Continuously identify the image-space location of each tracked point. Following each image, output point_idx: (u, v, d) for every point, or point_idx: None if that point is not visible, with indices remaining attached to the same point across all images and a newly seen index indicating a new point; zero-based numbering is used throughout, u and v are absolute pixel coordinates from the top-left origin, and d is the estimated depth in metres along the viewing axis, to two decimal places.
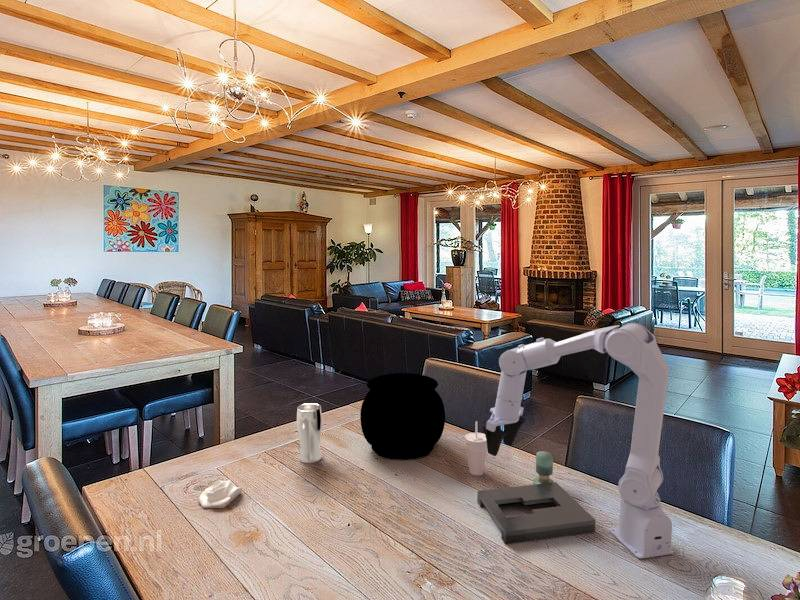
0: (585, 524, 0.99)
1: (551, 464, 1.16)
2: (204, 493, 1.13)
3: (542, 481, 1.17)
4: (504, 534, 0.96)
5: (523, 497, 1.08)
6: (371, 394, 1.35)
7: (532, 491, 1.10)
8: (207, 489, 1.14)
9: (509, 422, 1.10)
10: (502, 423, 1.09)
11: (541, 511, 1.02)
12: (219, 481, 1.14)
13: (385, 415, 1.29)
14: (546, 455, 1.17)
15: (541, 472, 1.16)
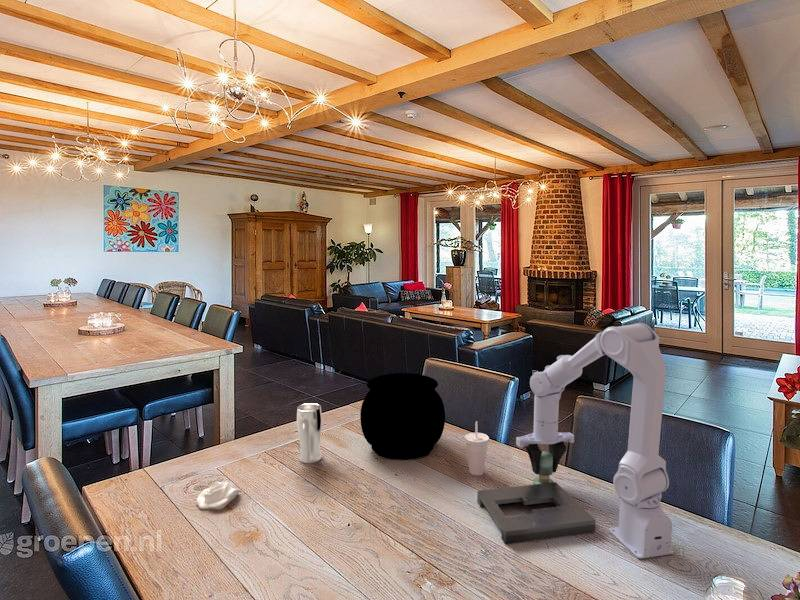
0: (585, 524, 0.99)
1: (551, 464, 1.16)
2: (202, 494, 1.12)
3: (542, 481, 1.17)
4: (504, 534, 0.96)
5: (523, 497, 1.08)
6: (371, 394, 1.35)
7: (532, 491, 1.10)
8: (205, 490, 1.13)
9: (540, 442, 1.14)
10: (531, 441, 1.15)
11: (541, 511, 1.02)
12: (217, 482, 1.13)
13: (385, 415, 1.29)
14: (546, 455, 1.17)
15: (541, 472, 1.16)
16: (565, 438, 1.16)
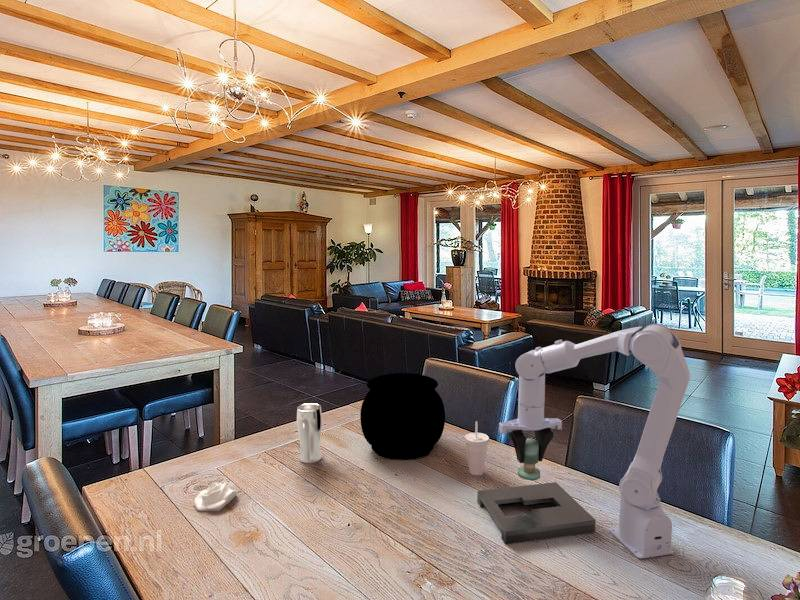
0: (585, 524, 0.99)
1: (536, 452, 1.08)
2: (199, 496, 1.12)
3: (527, 470, 1.09)
4: (504, 534, 0.96)
5: (523, 497, 1.08)
6: (371, 394, 1.35)
7: (532, 491, 1.10)
8: (202, 492, 1.13)
9: (524, 428, 1.06)
10: (514, 427, 1.06)
11: (541, 511, 1.02)
12: (214, 484, 1.12)
13: (385, 415, 1.29)
14: (531, 442, 1.09)
15: (525, 460, 1.08)
16: (552, 424, 1.08)
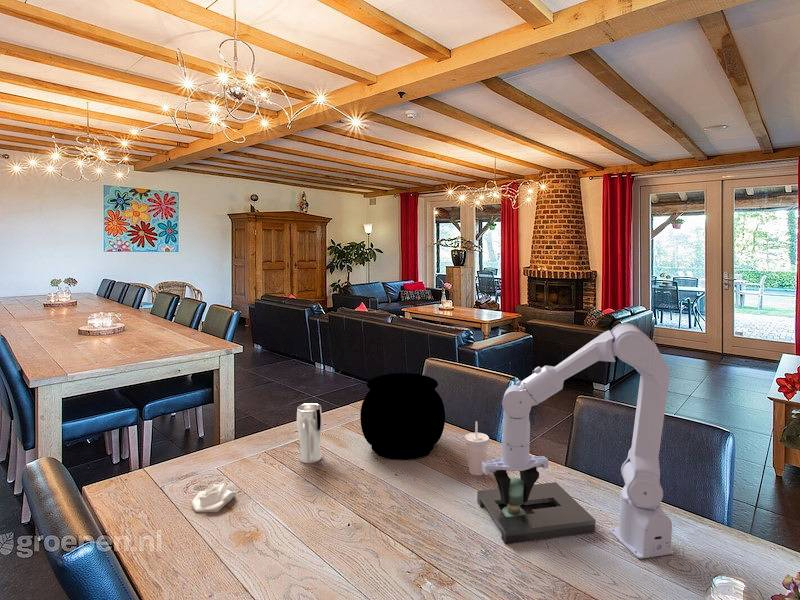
0: (585, 524, 0.99)
1: (521, 493, 1.02)
2: (197, 497, 1.11)
3: (511, 512, 1.03)
4: (504, 534, 0.96)
5: None
6: (371, 394, 1.35)
7: (532, 491, 1.10)
8: (200, 493, 1.12)
9: (508, 468, 1.00)
10: (498, 467, 1.00)
11: (541, 511, 1.02)
12: (212, 485, 1.12)
13: (385, 415, 1.29)
14: (515, 482, 1.03)
15: (510, 502, 1.02)
16: (538, 463, 1.02)
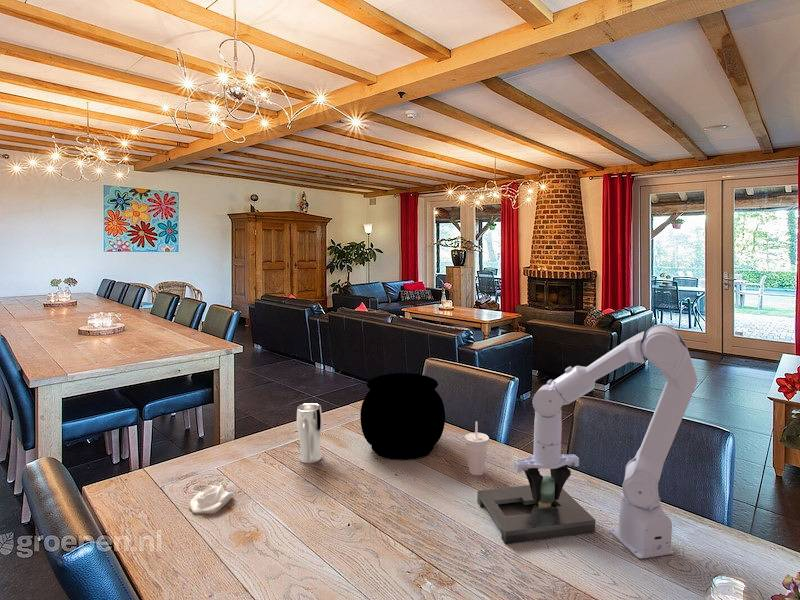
0: (585, 524, 0.99)
1: (553, 490, 1.03)
2: (195, 498, 1.11)
3: None
4: (504, 534, 0.96)
5: (523, 497, 1.08)
6: (371, 394, 1.35)
7: None
8: (198, 494, 1.12)
9: (541, 466, 1.01)
10: (530, 465, 1.02)
11: (541, 511, 1.02)
12: (210, 486, 1.11)
13: (385, 415, 1.29)
14: (547, 479, 1.05)
15: (541, 499, 1.04)
16: (569, 461, 1.03)
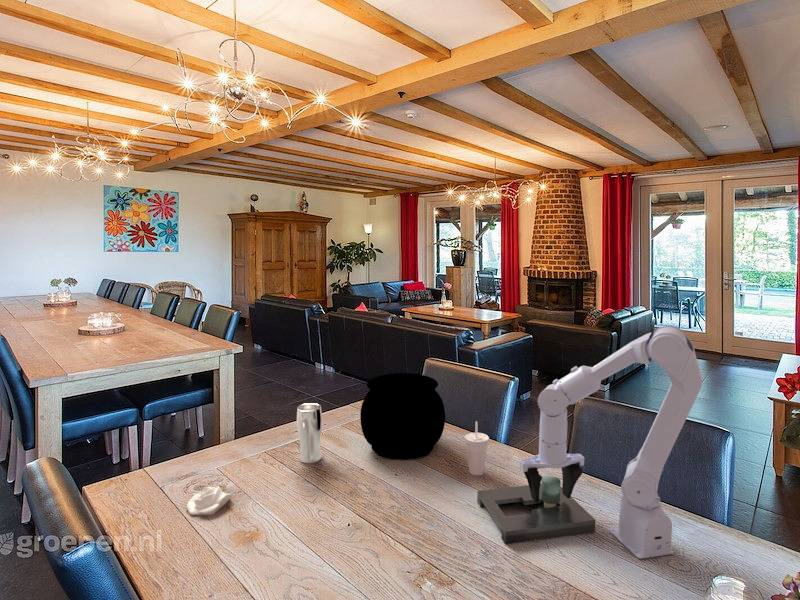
0: (585, 524, 0.99)
1: (558, 491, 1.04)
2: (192, 500, 1.10)
3: None
4: (504, 534, 0.96)
5: (523, 497, 1.08)
6: (371, 394, 1.35)
7: None
8: (195, 495, 1.11)
9: (546, 466, 1.02)
10: (536, 465, 1.02)
11: (541, 511, 1.02)
12: (208, 487, 1.11)
13: (385, 415, 1.29)
14: (552, 480, 1.05)
15: (547, 500, 1.04)
16: (574, 461, 1.04)
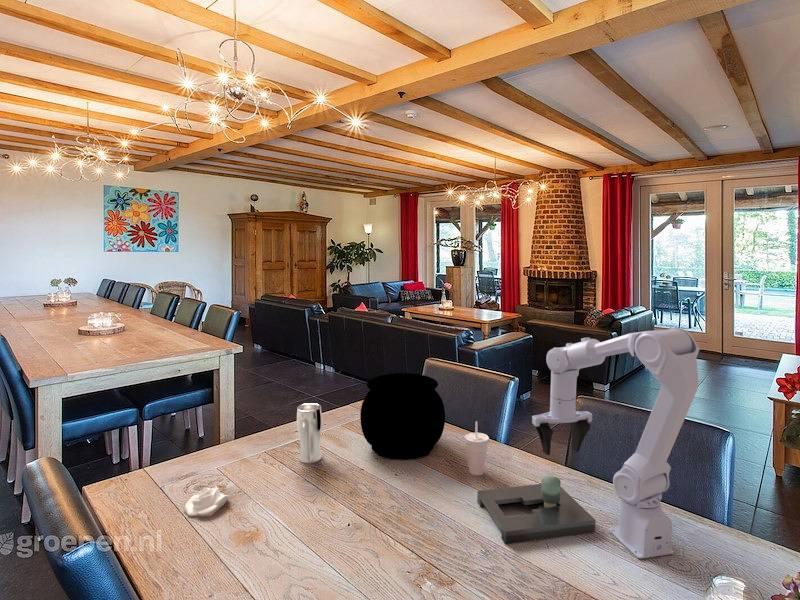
0: (585, 524, 0.99)
1: (558, 491, 1.04)
2: (190, 501, 1.10)
3: None
4: (504, 534, 0.96)
5: (523, 497, 1.08)
6: (371, 394, 1.35)
7: (532, 491, 1.10)
8: (193, 497, 1.11)
9: (557, 420, 1.10)
10: (548, 420, 1.10)
11: (541, 511, 1.02)
12: (206, 488, 1.10)
13: (385, 415, 1.29)
14: (552, 480, 1.05)
15: (547, 500, 1.04)
16: (583, 417, 1.12)
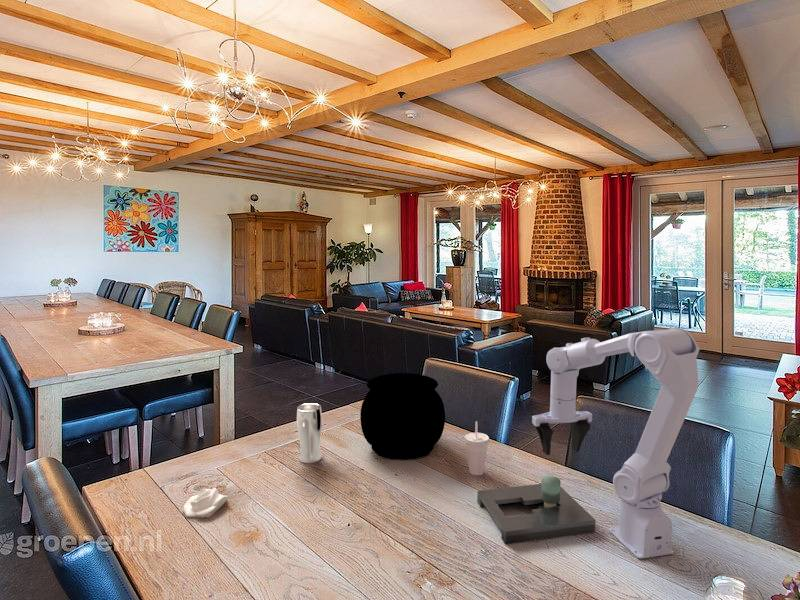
0: (585, 524, 0.99)
1: (558, 491, 1.04)
2: (189, 502, 1.09)
3: None
4: (504, 534, 0.96)
5: (523, 497, 1.08)
6: (371, 394, 1.35)
7: (532, 491, 1.10)
8: (192, 497, 1.10)
9: (557, 420, 1.10)
10: (548, 420, 1.10)
11: (541, 511, 1.02)
12: (204, 489, 1.10)
13: (385, 415, 1.29)
14: (552, 480, 1.05)
15: (547, 500, 1.04)
16: (583, 417, 1.12)
